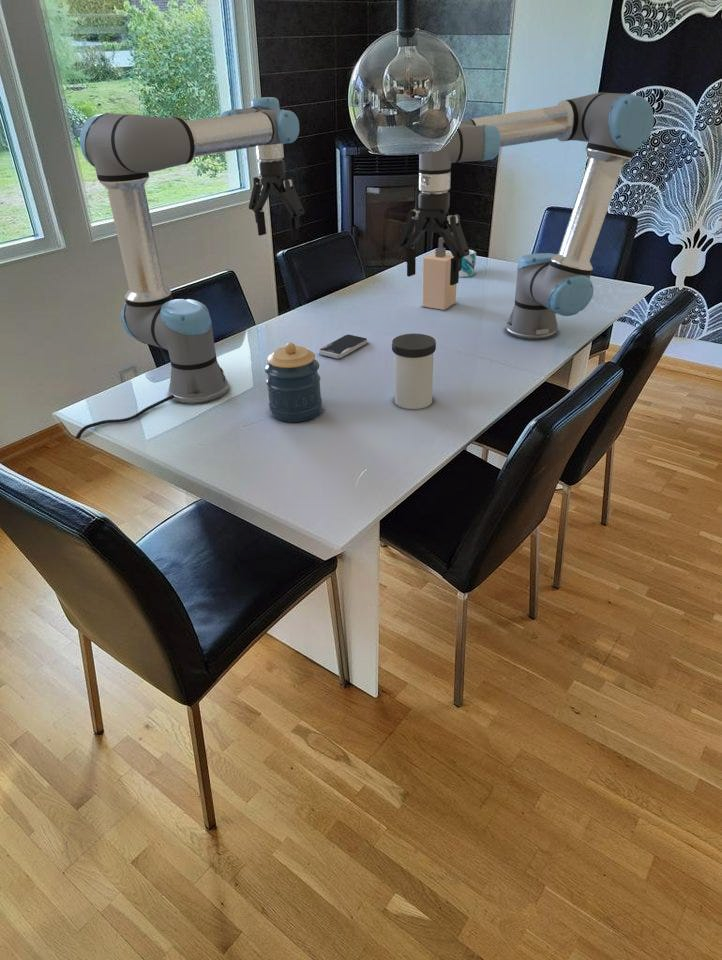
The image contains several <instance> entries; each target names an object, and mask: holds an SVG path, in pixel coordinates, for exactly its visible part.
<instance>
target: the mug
mask: <svg viewBox="0 0 722 960" xmlns="http://www.w3.org/2000/svg"><path fill="white" fill-rule="evenodd" d="M469 252H470V254H469V255H467V256H465V257H463V258H462V269H461V271H459V278H465V277H466V278H467V277H472V276H474V274H475V266H476V264H477V251H475V250H473V249H469Z"/></svg>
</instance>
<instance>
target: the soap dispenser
mask: <svg viewBox="0 0 722 960" xmlns="http://www.w3.org/2000/svg"><path fill="white" fill-rule="evenodd" d="M451 233H452V232H451ZM452 235H453V233H452ZM453 237H454V236H453ZM444 243H445V241H444V240H443V238H442V236H440V237H439V238H438V245H437V246H438V247H437V248H435V251H433V252H432V253H430V254H428V255H426V256H424V257H423V258H422V295H421V296H422V302H421V304H422V307H424V308H431V309H437V310H443V311H445V310H447V309H448V308H451V306H453V305H454V304H456V302H457V301H456V300H457V284H454V285H450V269H451V258H454V257H453V255H452V253H447V248H446V247H444Z"/></svg>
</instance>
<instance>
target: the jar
mask: <svg viewBox="0 0 722 960" xmlns="http://www.w3.org/2000/svg"><path fill="white" fill-rule="evenodd" d="M393 368H394V369H393V375H394V376H393V377H394V378H393V383H394V385H393V386H394V388H393V389H394V392H393V393H394V395H393V396H394V403H395V405H396V406H398V407H400V408H403V409H407V410H421V409H424V408H427V407H429V406H431V405H432V403H433V390H434V389H433V387H434V386H433V385H434V353H432V354H431V355H428V356H425V357H418V358H409V357H402V356H399V355H397V354H395V353H394V352H393Z"/></svg>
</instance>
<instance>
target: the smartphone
mask: <svg viewBox="0 0 722 960" xmlns="http://www.w3.org/2000/svg"><path fill="white" fill-rule="evenodd" d="M366 344H368V338H367V337H362V336H357V335H352V334H345V335H343V336H341V337H340V338H337V339H336V340H334V341H332V342H330V343H328V344H326V345H324V346H322V347H321V348H319V349H318V354H319V355H321V356H324V357H329V358H333V359H336V360H337V359H339V360H340V359H342V358H344V357H345V356H347V355H349V354H351V353H353V352H354V351H356V350H357V349H360V348H362V347H363V346H365V345H366Z"/></svg>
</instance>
